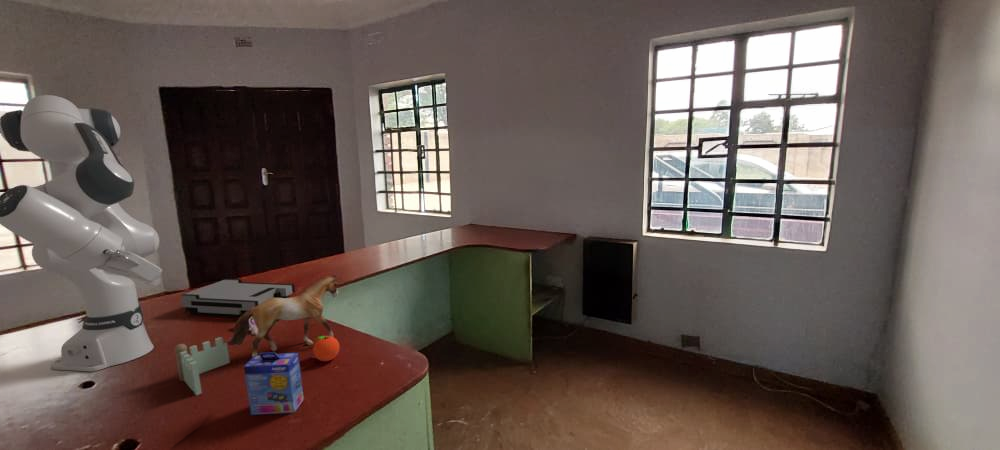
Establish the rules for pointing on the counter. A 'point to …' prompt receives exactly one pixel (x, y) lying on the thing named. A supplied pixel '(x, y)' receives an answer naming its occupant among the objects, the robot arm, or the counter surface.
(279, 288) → the game console
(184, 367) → the folding fence panel
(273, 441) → the counter surface
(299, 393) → the ink cartridge box
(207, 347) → the fence post and fixed panel
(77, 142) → the robot arm
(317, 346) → the clementine
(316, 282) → the horse figurine
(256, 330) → the rabbit figure
